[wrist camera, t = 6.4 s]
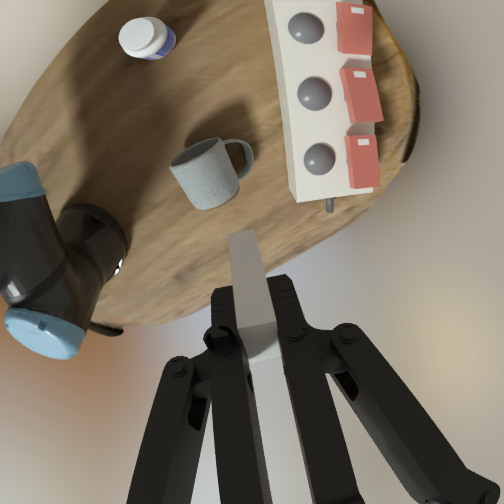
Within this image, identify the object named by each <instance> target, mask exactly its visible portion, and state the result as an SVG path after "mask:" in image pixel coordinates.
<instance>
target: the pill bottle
mask: <svg viewBox="0 0 504 504" xmlns="http://www.w3.org/2000/svg"><path fill="white" fill-rule="evenodd" d="M119 42H120V45H121V46H122V48H123V50H124V51H125V52H126V53H127V54H128V55H130V56H132V57H137V58H143V59H148V60H157V59H161V58H163V57H165V56H167V55H168V54H169V53H170V52H171V51H172V50H173V48H174V46H175V43H176V36H175V34H174V32H173V31H172V29H170V28H169V27H168V26H167V25H166V24H164V23H163V22H162V21H161V20H159V19H157V18H154V17H142V18H136V19H133V20H131V21H129V22H127V23H126V24H125V25H124V26H123V27H122V29H121V31H120V33H119Z"/></svg>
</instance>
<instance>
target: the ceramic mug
mask: <svg viewBox="0 0 504 504" xmlns="http://www.w3.org/2000/svg"><path fill="white" fill-rule="evenodd" d="M234 142H239V143H241V145H242V146H243V148H244V151H245V155H246V160H247V164H246V166H245V168H244V169H243V170H242V171H241V172H240V173H238V174H237V175H236V172H235V170H234V168H233V166H232V164H231V161H230V158H229V156H228V153H227V151H226V149H225V145H226V144H228V143H234ZM253 163H254V155H253V151H252V148H251V147H250V145H249V144H248V143H247V142H245V141H243V140H240V139H227V140H223V141H222V139H221V138H218V137H215V138H210V139H206V140H204V141H201V142H198V143H196V144H194V145H192V146H190V147H189V148H187V149H185V150H184V151H182V152H181V153H179V154H178V155H177V156H175V158H173V159H172V161H171V162H170V164H169V168H170V170H171V171H172V173H173V175H174V176H175V178H176V179H177V181H178V182H179V184H180V186H181V187H182V189H183V190H184V192H185V193H186V195H187V197H188V198H189V200H190V201H191V203H192V204H193V205H194V206H195V207H196V208H197V209H198V210H200V211H204V212H207V211H214V210H217V209H219V208H221V207H223V206H225V205H227V204H228V203H230V202H231V201H232V200H233V199H234V198H235V197H236V196H237V194H238V192H239V189H240V186H239V181H238V180H239V179H242V178H243V177H245V176H246V175H247V174H248V173H249V172H250V170H251V169H252V166H253Z"/></svg>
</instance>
